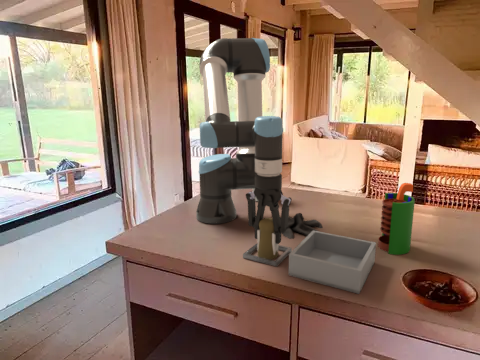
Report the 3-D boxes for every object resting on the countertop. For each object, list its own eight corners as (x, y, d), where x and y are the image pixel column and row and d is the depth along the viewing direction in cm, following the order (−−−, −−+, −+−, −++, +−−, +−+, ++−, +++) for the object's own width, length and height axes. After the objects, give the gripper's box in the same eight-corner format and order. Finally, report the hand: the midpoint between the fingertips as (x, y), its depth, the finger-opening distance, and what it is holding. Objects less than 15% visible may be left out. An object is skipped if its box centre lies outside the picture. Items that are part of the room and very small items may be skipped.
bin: (288, 275, 95) (289, 254, 93) (312, 248, 110) (312, 230, 108) (359, 294, 86) (360, 271, 84) (374, 262, 101) (376, 242, 99)
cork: (280, 252, 108) (281, 217, 105) (274, 261, 102) (274, 224, 100) (261, 248, 110) (261, 214, 107) (254, 257, 105) (254, 221, 102)
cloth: (272, 218, 137) (272, 202, 136) (323, 220, 133) (323, 204, 132) (264, 242, 116) (265, 224, 114) (324, 246, 112) (325, 227, 111)
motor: (371, 240, 115) (377, 179, 110) (399, 239, 115) (405, 178, 110) (387, 255, 105) (393, 188, 100) (416, 253, 106) (424, 187, 100)
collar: (243, 257, 105) (242, 254, 104) (260, 244, 113) (260, 240, 113) (276, 266, 99) (276, 262, 99) (291, 251, 108) (291, 247, 108)
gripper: (234, 172, 101) (236, 249, 107) (291, 180, 93) (289, 263, 99) (247, 167, 107) (248, 240, 113) (302, 173, 99) (300, 252, 105)
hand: (267, 251), depth 106 cm, fingers closed on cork, 4 cm apart
